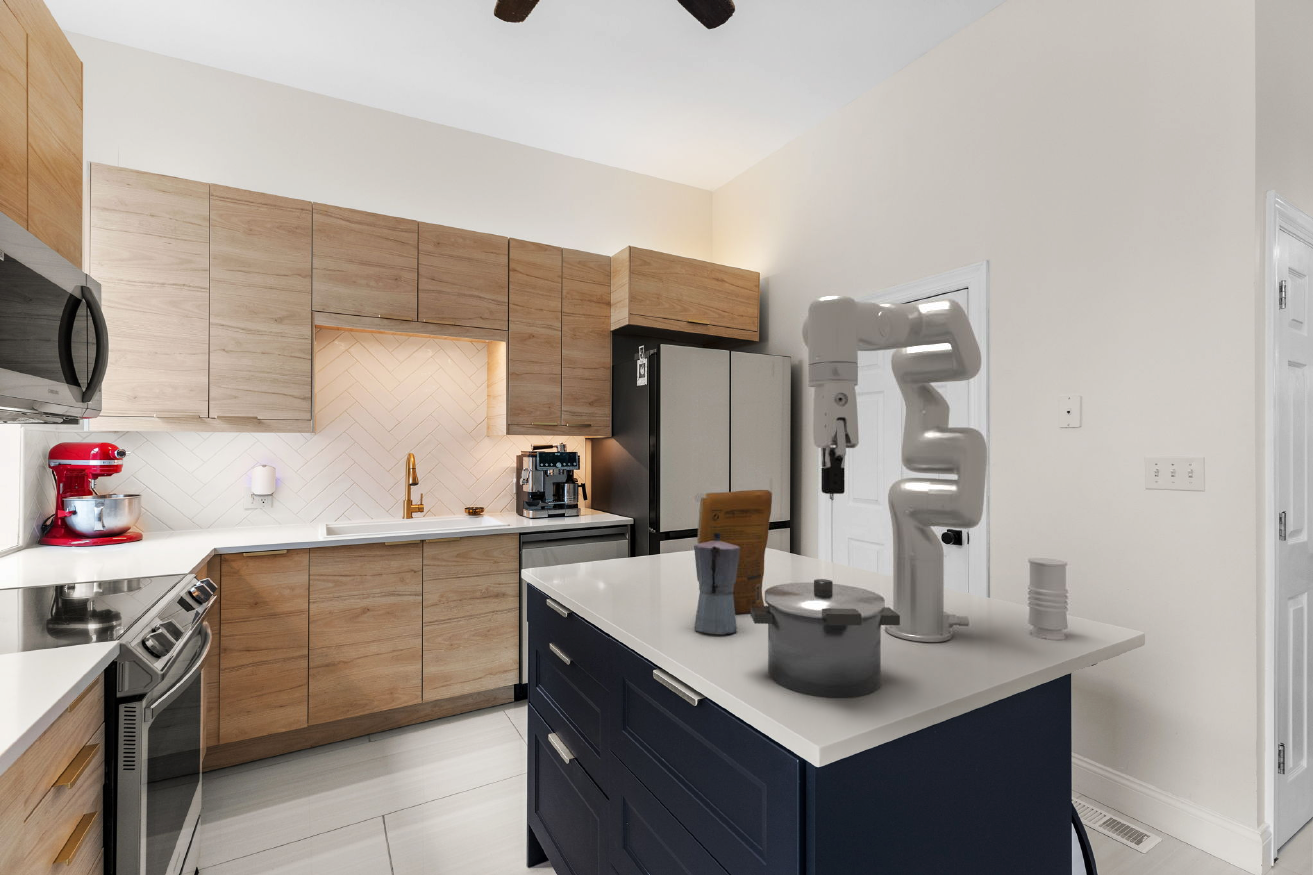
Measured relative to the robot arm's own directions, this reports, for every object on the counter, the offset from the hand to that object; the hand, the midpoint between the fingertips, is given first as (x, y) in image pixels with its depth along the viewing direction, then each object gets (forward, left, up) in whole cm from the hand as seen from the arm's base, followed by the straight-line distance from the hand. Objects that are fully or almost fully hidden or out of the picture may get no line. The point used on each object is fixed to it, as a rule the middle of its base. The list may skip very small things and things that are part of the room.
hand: (832, 493), depth 97 cm
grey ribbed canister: (-51, -30, -31) cm, 67 cm away
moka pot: (+16, -30, -31) cm, 46 cm away
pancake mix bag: (+11, -44, -31) cm, 55 cm away
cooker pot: (0, -6, -31) cm, 31 cm away
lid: (0, -4, -19) cm, 19 cm away
